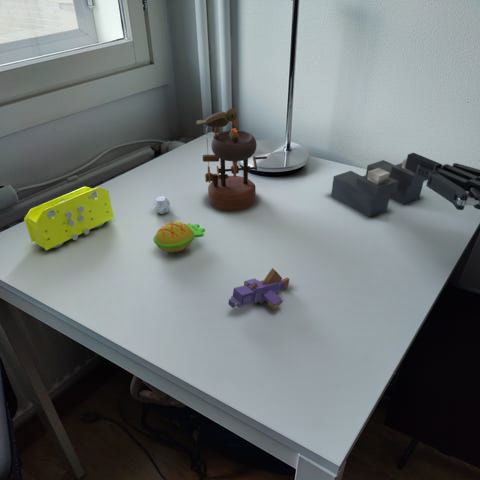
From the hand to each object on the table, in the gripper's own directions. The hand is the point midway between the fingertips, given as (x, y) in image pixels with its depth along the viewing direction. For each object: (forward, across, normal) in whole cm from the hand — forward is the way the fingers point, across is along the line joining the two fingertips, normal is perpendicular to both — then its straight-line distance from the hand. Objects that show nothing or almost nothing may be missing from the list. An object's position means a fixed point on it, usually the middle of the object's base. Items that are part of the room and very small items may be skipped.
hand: (409, 160), depth 87 cm
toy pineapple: (+16, -41, -14) cm, 46 cm away
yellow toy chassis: (+33, -56, -14) cm, 67 cm away
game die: (+31, -38, -14) cm, 51 cm away
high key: (+6, 0, -7) cm, 9 cm away
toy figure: (-6, -38, -14) cm, 41 cm away
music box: (+27, -22, -13) cm, 37 cm away
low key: (+6, +10, -6) cm, 14 cm away
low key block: (+10, +10, -13) cm, 20 cm away
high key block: (+10, 0, -13) cm, 17 cm away
